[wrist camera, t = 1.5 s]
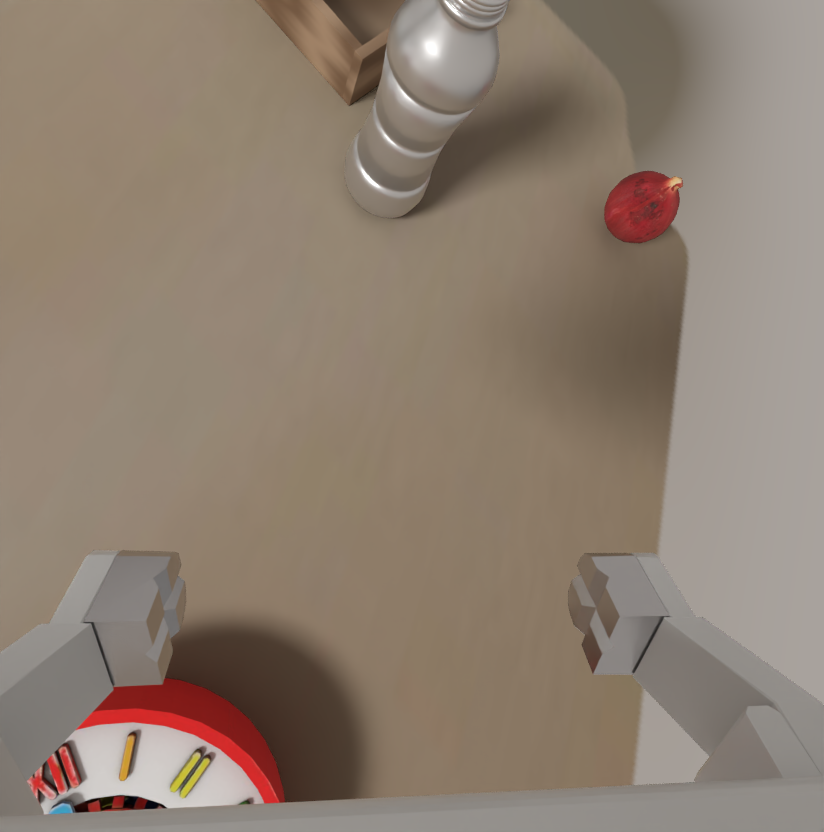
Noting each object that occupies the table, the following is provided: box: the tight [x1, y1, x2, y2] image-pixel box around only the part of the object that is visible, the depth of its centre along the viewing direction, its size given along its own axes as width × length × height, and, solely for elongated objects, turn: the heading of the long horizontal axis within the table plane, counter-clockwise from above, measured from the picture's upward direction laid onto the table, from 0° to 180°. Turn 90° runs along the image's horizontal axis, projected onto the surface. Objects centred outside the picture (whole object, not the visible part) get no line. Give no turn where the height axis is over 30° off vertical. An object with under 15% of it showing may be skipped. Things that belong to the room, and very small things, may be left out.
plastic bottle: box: [345, 0, 509, 218], centre depth 35 cm, size 6×7×20 cm
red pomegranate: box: [604, 171, 683, 243], centre depth 47 cm, size 6×6×8 cm
